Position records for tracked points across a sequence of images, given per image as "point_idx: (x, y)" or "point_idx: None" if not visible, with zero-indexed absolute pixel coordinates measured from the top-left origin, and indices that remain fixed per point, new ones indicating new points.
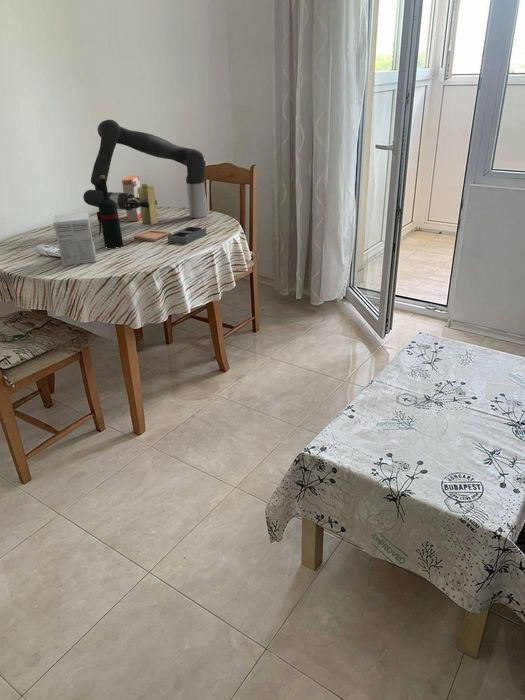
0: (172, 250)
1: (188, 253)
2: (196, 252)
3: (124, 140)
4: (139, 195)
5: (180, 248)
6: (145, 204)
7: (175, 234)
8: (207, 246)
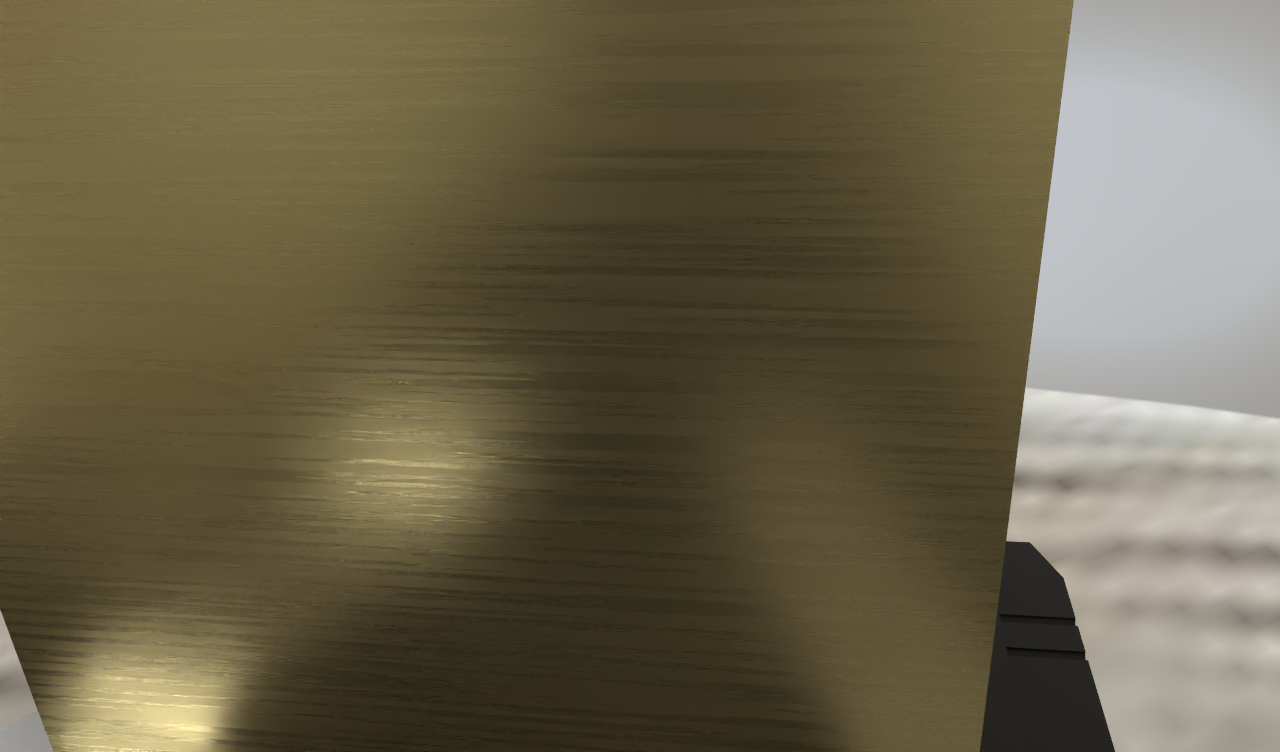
0: (1251, 633)
1: (1210, 467)
2: (1124, 429)
3: None
4: (989, 508)
5: (1105, 589)
6: (1053, 604)
7: None
8: None
